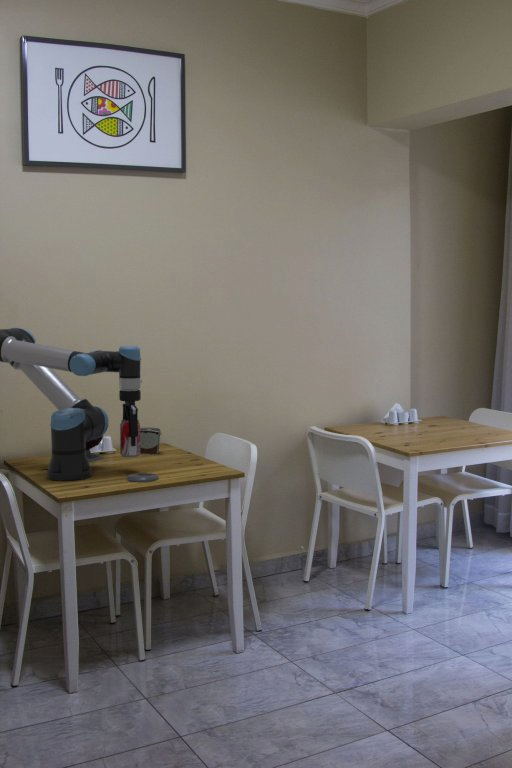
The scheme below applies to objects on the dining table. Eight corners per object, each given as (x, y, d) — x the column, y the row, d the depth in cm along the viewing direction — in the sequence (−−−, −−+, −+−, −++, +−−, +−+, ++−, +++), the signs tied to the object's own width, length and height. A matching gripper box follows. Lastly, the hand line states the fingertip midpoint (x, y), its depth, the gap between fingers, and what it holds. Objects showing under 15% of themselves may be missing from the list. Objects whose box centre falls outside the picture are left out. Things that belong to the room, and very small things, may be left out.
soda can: (142, 454, 310) (142, 418, 308) (137, 458, 303) (137, 421, 301) (123, 453, 310) (122, 418, 309) (118, 457, 303) (117, 421, 302)
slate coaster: (130, 483, 289) (130, 481, 289) (123, 476, 299) (123, 474, 299) (162, 480, 293) (161, 478, 293) (154, 474, 303) (154, 472, 303)
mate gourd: (69, 455, 338) (67, 405, 336) (104, 454, 341) (103, 405, 339) (66, 463, 323) (65, 411, 321) (104, 462, 325) (102, 410, 323)
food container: (166, 452, 345) (166, 427, 344) (160, 455, 339) (160, 430, 338) (139, 450, 349) (138, 426, 348) (132, 453, 343) (132, 428, 342)
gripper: (146, 392, 296) (147, 457, 298) (134, 386, 314) (134, 447, 317) (125, 393, 293) (125, 458, 296) (113, 386, 312) (114, 448, 314)
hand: (130, 452), depth 306 cm, fingers closed on soda can, 7 cm apart
